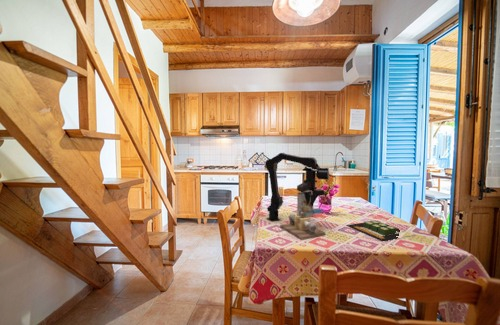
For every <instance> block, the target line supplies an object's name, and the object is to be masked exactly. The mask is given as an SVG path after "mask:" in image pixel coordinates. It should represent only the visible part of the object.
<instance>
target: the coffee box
mask: <svg viewBox="0 0 500 325" xmlns="http://www.w3.org/2000/svg"><path fill="white" fill-rule="evenodd" d="M296 197H297V200H296V201H297V203H296V204H297V205H296V206H297V207H296V208H297V209H296V210H297V211H296V212H297V213H296V214H297V216H301V215H299V211H310V210H311V209H314V204H313V205H311V197H310V201H309V204H307V202H306V199H305V196H304V194H303V193H302V192H301V191H298V192H297V196H296ZM304 216H306V217H308V218H312V217H314V214H313V213H312V214H305V215H304Z"/></svg>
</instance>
